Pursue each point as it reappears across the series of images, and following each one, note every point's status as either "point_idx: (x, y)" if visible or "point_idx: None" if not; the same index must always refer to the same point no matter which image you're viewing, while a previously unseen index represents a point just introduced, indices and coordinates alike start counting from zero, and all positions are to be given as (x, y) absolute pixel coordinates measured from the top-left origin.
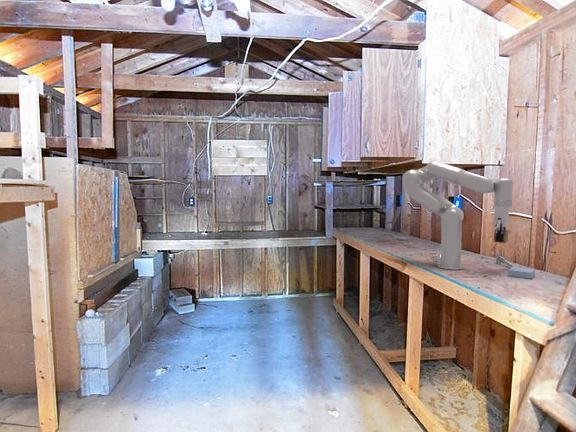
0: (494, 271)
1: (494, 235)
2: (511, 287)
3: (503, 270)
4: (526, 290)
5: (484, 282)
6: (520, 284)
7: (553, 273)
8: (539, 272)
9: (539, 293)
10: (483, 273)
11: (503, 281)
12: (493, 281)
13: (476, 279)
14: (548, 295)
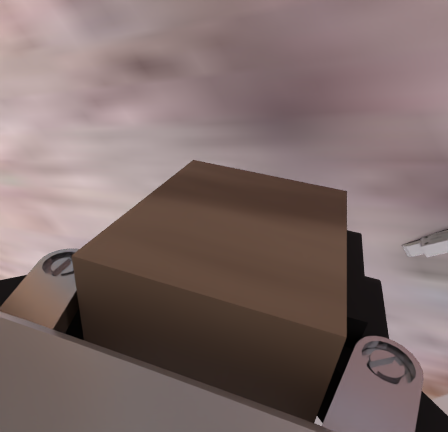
0: (326, 108)
1: (146, 204)
2: (26, 185)
3: (396, 162)
4: (26, 227)
5: (19, 81)
6: (93, 219)
7: (425, 384)
8: (424, 336)
9: (22, 257)
10: (217, 46)
11: (96, 160)
12: (65, 118)
13: (43, 34)
14: (21, 274)
